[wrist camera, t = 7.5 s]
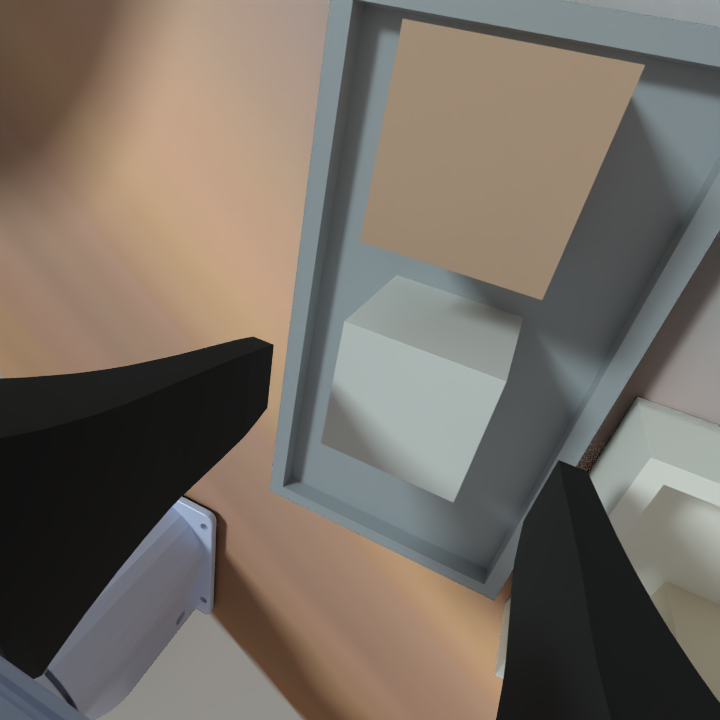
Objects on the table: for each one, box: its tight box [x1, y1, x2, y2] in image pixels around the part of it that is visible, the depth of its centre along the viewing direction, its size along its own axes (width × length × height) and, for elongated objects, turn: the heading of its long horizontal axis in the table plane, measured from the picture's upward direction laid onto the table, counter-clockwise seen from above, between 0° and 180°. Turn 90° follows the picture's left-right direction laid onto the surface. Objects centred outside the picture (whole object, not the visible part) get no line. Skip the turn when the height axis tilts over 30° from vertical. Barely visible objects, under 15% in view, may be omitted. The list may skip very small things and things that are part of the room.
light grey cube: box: [321, 275, 523, 503], centre depth 13 cm, size 4×4×4 cm
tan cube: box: [360, 19, 645, 300], centre depth 10 cm, size 4×4×4 cm
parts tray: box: [270, 0, 720, 600], centre depth 15 cm, size 18×10×1 cm, turn 167°
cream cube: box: [650, 581, 720, 702], centre depth 14 cm, size 4×4×4 cm
